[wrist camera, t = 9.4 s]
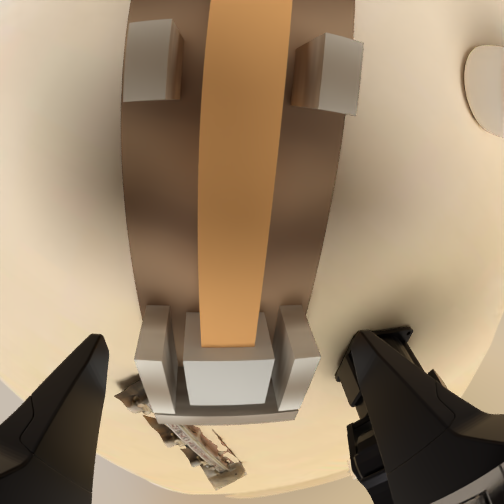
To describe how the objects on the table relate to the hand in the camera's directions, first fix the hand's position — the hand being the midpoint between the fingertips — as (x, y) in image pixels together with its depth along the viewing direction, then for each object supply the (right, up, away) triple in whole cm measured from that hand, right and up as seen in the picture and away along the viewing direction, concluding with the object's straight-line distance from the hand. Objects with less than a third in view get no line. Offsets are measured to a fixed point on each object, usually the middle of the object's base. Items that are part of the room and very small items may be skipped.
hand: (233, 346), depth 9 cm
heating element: (-6, -20, +21) cm, 30 cm away
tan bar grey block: (0, +5, +5) cm, 8 cm away
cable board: (-1, +6, +6) cm, 9 cm away
